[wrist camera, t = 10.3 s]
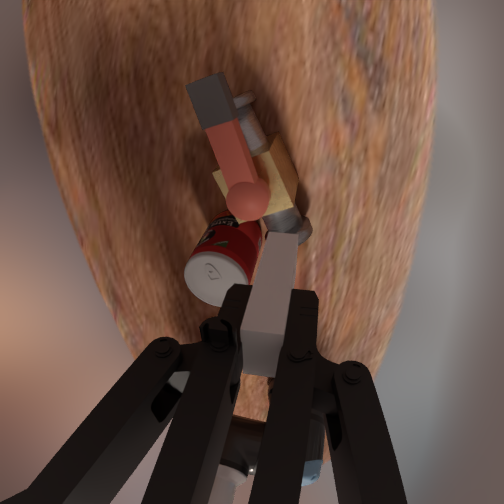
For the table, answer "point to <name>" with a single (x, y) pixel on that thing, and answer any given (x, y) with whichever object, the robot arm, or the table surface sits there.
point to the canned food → (223, 258)
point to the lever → (229, 147)
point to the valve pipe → (270, 173)
